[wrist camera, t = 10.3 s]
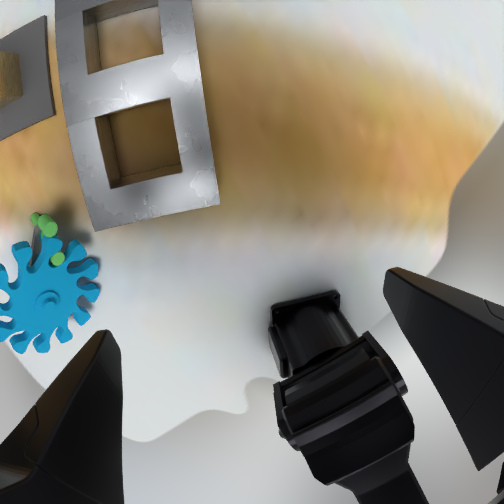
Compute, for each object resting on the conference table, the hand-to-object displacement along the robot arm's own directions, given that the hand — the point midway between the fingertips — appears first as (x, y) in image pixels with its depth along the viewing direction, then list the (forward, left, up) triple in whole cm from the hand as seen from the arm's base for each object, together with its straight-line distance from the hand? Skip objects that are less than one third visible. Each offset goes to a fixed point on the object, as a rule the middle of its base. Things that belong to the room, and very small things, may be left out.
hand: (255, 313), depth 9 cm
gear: (+13, +3, -13) cm, 19 cm away
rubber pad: (+14, -12, -13) cm, 23 cm away
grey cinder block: (+4, -8, -13) cm, 16 cm away
